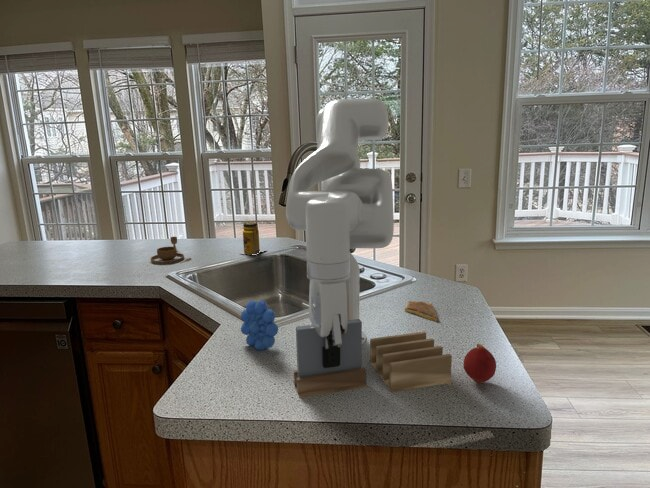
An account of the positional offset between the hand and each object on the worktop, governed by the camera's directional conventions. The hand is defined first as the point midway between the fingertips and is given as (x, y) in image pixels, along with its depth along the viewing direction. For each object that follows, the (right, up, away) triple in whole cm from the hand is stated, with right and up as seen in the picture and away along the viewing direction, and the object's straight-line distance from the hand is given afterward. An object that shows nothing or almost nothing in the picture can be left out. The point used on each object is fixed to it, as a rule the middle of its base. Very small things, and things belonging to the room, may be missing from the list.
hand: (329, 362), depth 86 cm
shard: (+26, +4, +36) cm, 45 cm away
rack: (+16, -4, +5) cm, 17 cm away
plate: (0, -4, +1) cm, 4 cm away
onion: (+28, -5, +2) cm, 29 cm away
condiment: (-29, +18, +95) cm, 101 cm away
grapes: (-14, -2, +17) cm, 22 cm away
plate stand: (0, -5, +1) cm, 5 cm away
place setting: (-58, +16, +91) cm, 110 cm away
